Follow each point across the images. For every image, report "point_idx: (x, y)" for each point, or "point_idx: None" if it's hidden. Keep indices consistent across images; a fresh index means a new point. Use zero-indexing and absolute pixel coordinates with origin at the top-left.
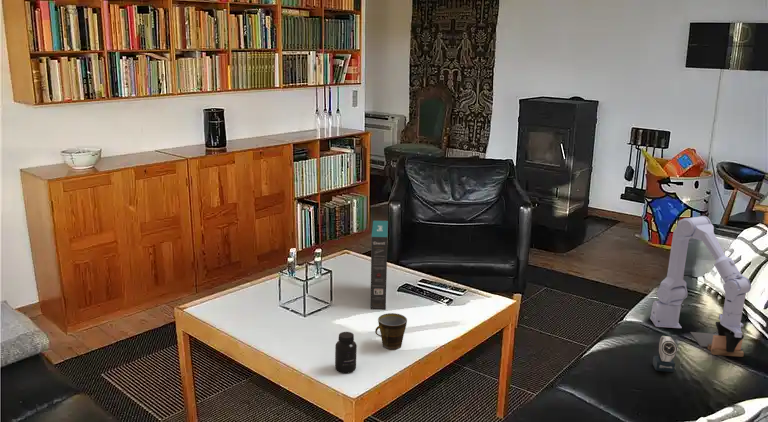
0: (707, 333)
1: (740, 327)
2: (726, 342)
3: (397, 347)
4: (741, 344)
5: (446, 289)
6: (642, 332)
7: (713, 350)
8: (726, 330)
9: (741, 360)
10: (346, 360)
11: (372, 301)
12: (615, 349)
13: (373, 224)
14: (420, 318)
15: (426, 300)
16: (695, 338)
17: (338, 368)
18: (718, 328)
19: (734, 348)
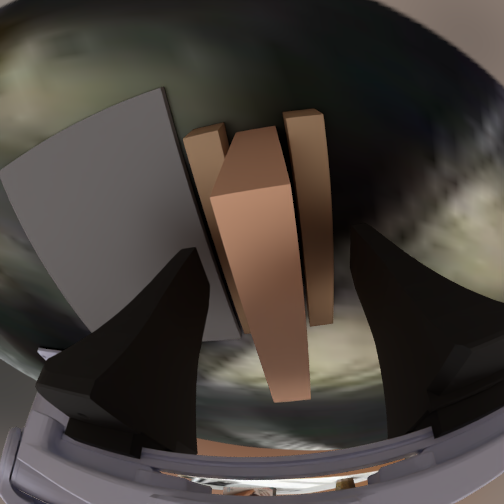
0: (57, 283)
1: (476, 489)
2: (378, 340)
3: (351, 479)
4: (282, 154)
5: (195, 479)
6: (203, 423)
7: (332, 321)
8: (164, 366)
9: (383, 142)
10: None
11: (275, 494)
12: (331, 442)
13: None
14: (283, 484)
15: (236, 484)
16: None
17: None
18: (195, 418)
19: (385, 244)
